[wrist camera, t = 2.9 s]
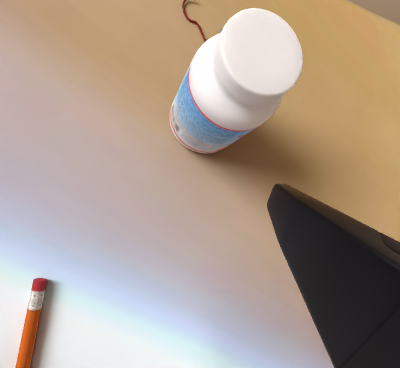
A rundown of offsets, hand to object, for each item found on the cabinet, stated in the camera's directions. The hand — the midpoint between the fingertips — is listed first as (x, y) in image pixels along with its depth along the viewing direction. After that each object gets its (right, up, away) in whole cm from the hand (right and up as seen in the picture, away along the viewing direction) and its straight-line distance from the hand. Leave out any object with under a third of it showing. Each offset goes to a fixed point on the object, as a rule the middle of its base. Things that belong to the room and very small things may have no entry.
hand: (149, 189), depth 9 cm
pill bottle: (+2, +6, +16) cm, 17 cm away
